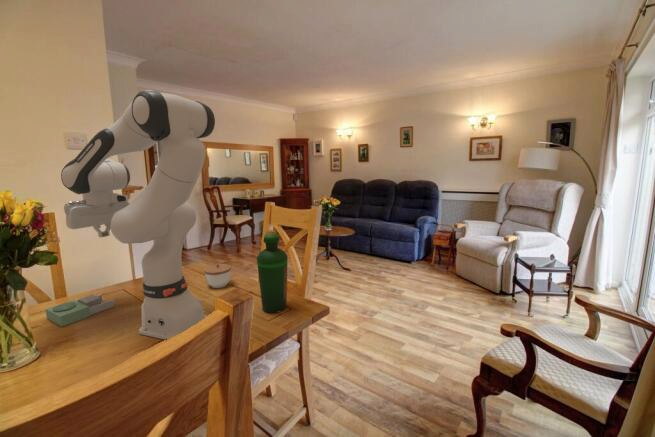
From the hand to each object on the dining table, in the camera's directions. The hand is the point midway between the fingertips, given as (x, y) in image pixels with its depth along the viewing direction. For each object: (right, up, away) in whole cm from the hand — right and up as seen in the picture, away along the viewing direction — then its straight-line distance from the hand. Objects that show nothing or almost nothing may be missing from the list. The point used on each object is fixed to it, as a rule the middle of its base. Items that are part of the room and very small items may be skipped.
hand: (104, 236), depth 114 cm
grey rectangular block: (-3, -26, -2) cm, 26 cm away
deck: (-5, -26, -4) cm, 27 cm away
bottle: (+62, -25, -2) cm, 67 cm away
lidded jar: (+35, -22, +19) cm, 45 cm away
